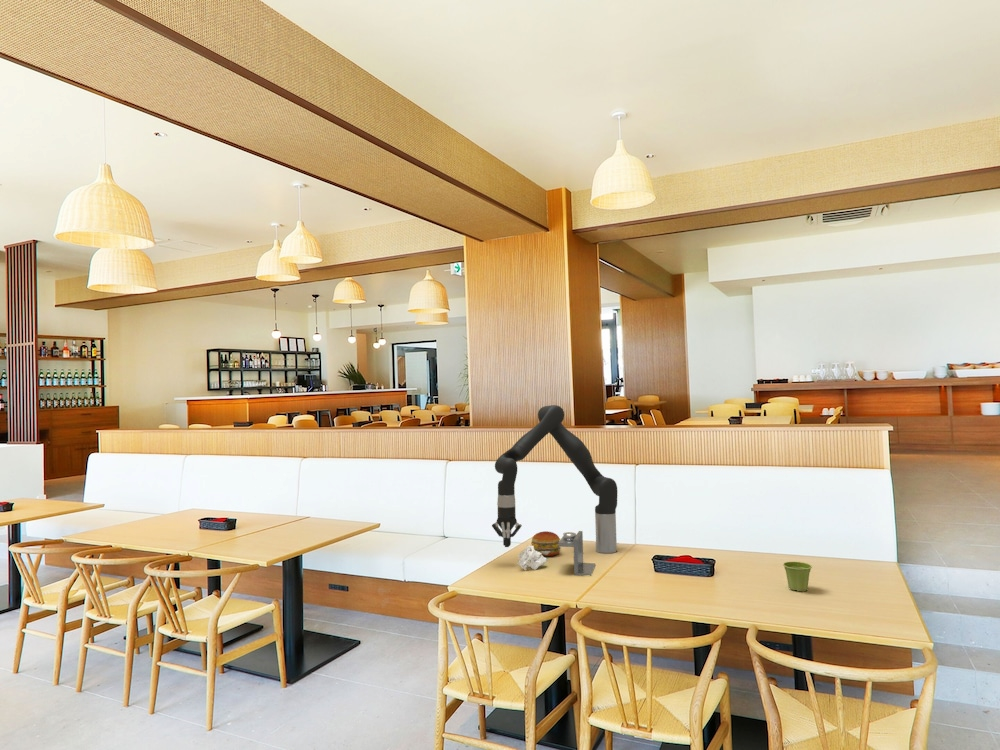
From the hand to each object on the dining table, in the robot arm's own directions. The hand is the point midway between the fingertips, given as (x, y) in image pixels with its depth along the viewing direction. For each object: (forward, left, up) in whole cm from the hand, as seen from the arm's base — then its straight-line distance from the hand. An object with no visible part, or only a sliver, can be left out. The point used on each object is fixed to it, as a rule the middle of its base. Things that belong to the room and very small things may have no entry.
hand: (507, 546), depth 270 cm
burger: (-22, +12, -8) cm, 27 cm away
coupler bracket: (+1, +30, -8) cm, 31 cm away
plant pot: (+13, +110, -8) cm, 111 cm away
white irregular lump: (0, +11, -8) cm, 13 cm away
